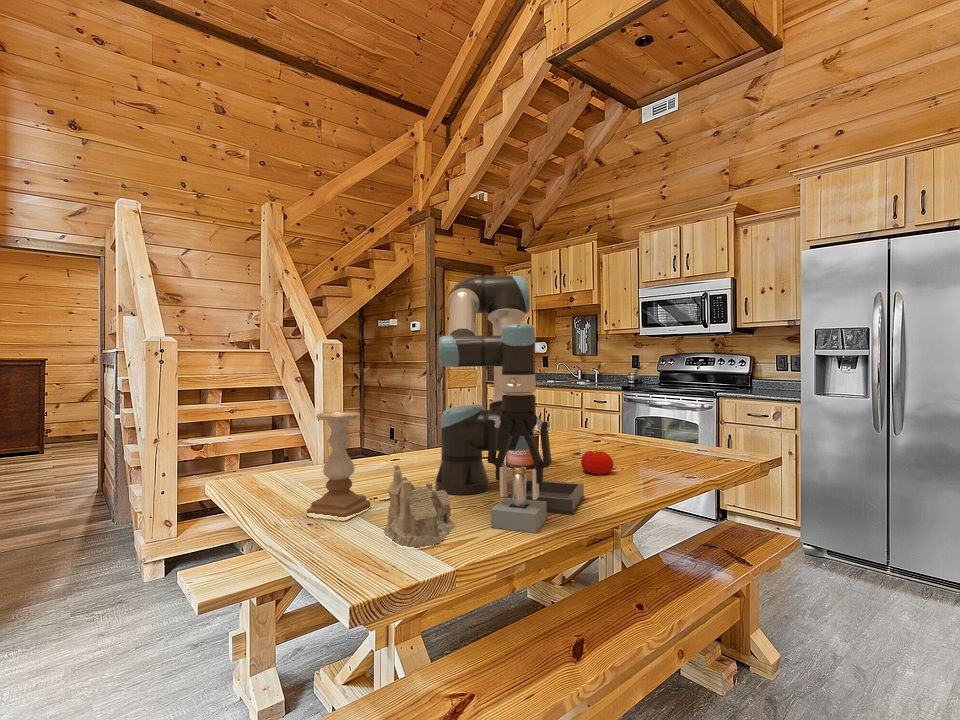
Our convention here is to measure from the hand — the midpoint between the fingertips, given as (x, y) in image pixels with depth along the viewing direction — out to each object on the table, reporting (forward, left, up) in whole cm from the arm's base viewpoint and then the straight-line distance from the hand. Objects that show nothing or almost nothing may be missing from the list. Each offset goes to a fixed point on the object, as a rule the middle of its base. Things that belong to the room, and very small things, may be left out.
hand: (519, 496), depth 113 cm
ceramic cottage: (-18, -13, -6) cm, 23 cm away
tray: (+2, +18, -6) cm, 19 cm away
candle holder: (-43, -7, -6) cm, 44 cm away
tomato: (+9, +56, -6) cm, 58 cm away
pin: (0, 0, -6) cm, 6 cm away
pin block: (0, 0, -6) cm, 6 cm away
